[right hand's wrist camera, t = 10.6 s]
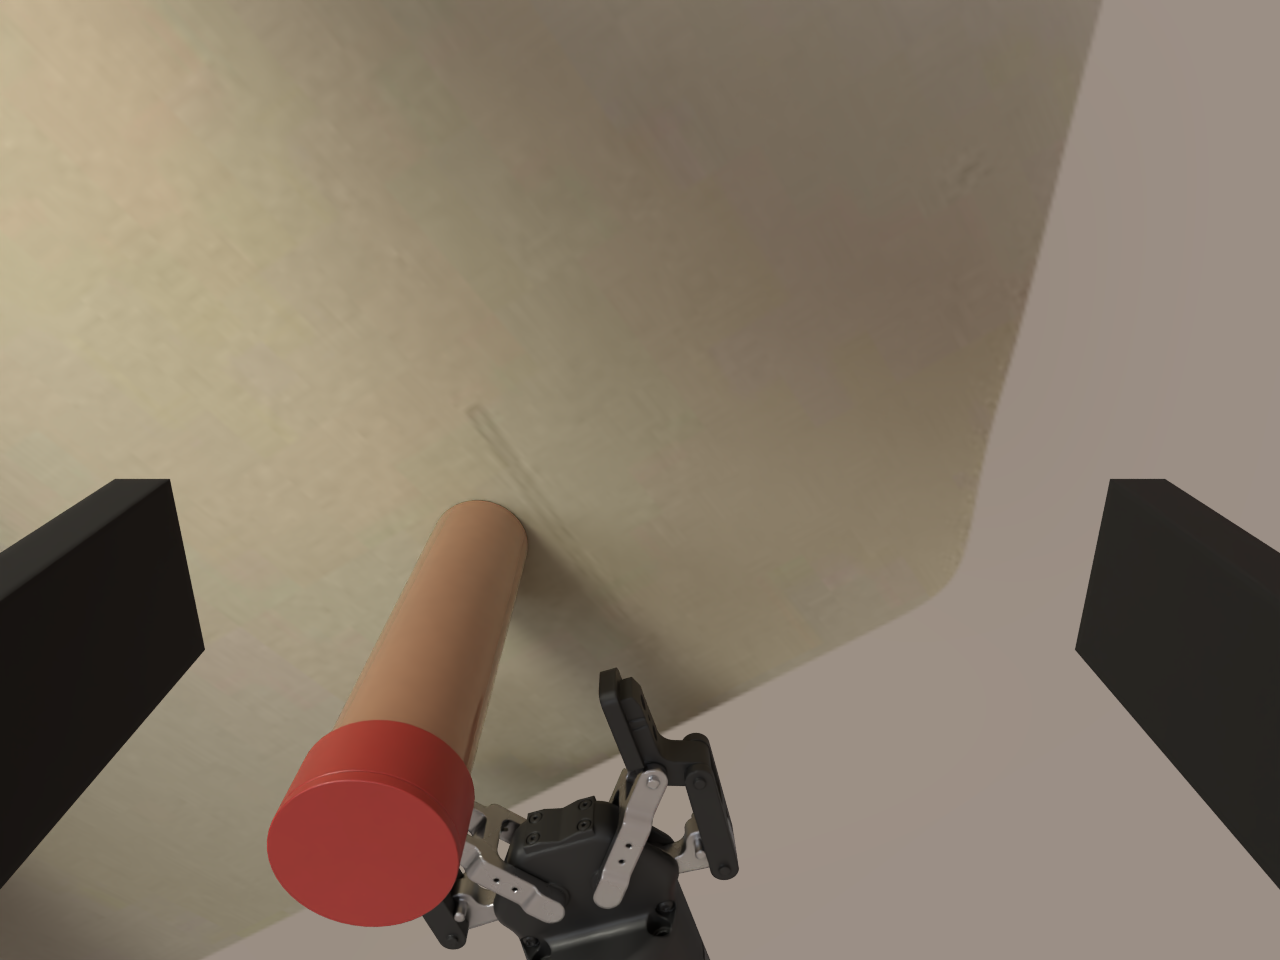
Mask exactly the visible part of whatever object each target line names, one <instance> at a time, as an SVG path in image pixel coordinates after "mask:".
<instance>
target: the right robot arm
mask: <svg viewBox="0 0 1280 960" xmlns="http://www.w3.org/2000/svg"><path fill="white" fill-rule="evenodd" d="M204 650H205V648H204V643H203V638H202V633H201V628H200V623H199V618H198V614H197V609H196V604H195V599H194V594H193V589H192V584H191V580H190V575H189V570H188V565H187V560H186V555H185V550H184V546H183V541H182V536H181V531H180V526H179V521H178V516H177V512H176V507H175V502H174V497H173V492H172V487H171V482H170V479H114V480H113V481H111V482H110V483H108V484H106V485H105V486H103V487H102V488H100V489H99V490H97V491H96V492H94V493H93V494H91V495H89V496H88V497H86V498H85V499H83V500H82V501H80V502H79V503H77V504H75V505H74V506H72V507H71V508H69V509H68V510H66V511H65V512H63V513H62V514H60V515H58V516H57V517H55V518H54V519H52V520H51V521H49V522H48V523H46V524H44V525H43V526H41V527H40V528H38V529H37V530H35V531H34V532H32V533H31V534H29V535H27V536H26V537H24V538H23V539H21V540H20V541H18V542H17V543H15V544H13V545H12V546H10V547H9V548H7V549H6V550H4V551H3V552H1V553H0V889H1V888H2V887H3V885H4V884H5V883H6V882H7V881H8V880H9V878H10V877H11V876H12V875H13V874H14V873H15V871H16V870H17V869H18V868H19V867H20V866H21V864H22V863H23V862H24V861H25V860H26V859H27V857H28V856H29V855H30V854H31V853H32V852H33V850H34V849H35V848H36V847H37V846H38V844H39V843H40V842H41V841H42V840H43V839H44V837H45V836H46V835H47V834H48V833H49V832H50V830H51V829H52V828H53V827H54V826H55V825H56V823H57V822H58V821H59V820H60V819H61V818H62V816H63V815H64V814H65V813H66V812H67V811H68V809H69V808H70V807H71V806H72V805H73V804H74V802H75V801H76V800H77V799H78V798H79V796H80V795H81V794H82V793H83V792H84V791H85V789H86V788H87V787H88V786H89V785H90V784H91V782H92V781H93V780H94V779H95V778H96V777H97V775H98V774H99V773H100V772H101V771H102V770H103V768H104V767H105V766H106V765H107V764H108V763H109V761H110V760H111V759H112V758H113V757H114V756H115V754H116V753H117V752H118V751H119V750H120V748H121V747H122V746H123V745H124V744H125V743H126V741H127V740H128V739H129V738H130V737H131V736H132V734H133V733H134V732H135V731H136V730H137V729H138V727H139V726H140V725H141V724H142V723H143V722H144V720H145V719H146V718H147V717H148V716H149V715H150V713H151V712H152V711H153V710H154V709H155V708H156V706H157V705H158V704H159V703H160V702H161V700H162V699H163V698H164V697H165V696H166V695H167V693H168V692H169V691H170V690H171V689H172V688H173V686H174V685H175V684H176V683H177V682H178V681H179V679H180V678H181V677H182V676H183V675H184V674H185V672H186V671H187V670H188V669H189V668H190V667H191V665H192V664H193V663H194V662H195V661H196V660H197V658H198V657H199V656H200V655H201V654H202V652H203V651H204ZM1075 650H1076V651H1077V652H1078V654H1079V655H1080V656H1081V657H1082V658H1083V659H1084V661H1085V662H1086V663H1087V664H1088V665H1089V667H1090V668H1091V669H1092V670H1093V671H1094V672H1095V674H1096V675H1097V676H1098V677H1099V678H1100V679H1101V681H1102V682H1103V683H1104V684H1105V685H1106V686H1107V688H1108V689H1109V690H1110V691H1111V692H1112V693H1113V695H1114V696H1115V697H1116V698H1117V699H1118V700H1119V702H1120V703H1121V704H1122V705H1123V706H1124V708H1125V709H1126V710H1127V711H1128V712H1129V713H1130V715H1131V716H1132V717H1133V718H1134V719H1135V720H1136V721H1137V723H1138V724H1139V725H1140V726H1141V727H1142V729H1143V730H1144V731H1145V732H1146V733H1147V734H1148V736H1149V737H1150V738H1151V739H1152V740H1153V741H1154V743H1155V744H1156V745H1157V746H1158V747H1159V748H1160V750H1161V751H1162V752H1163V753H1164V754H1165V755H1166V757H1167V758H1168V759H1169V760H1170V761H1171V763H1172V764H1173V765H1174V766H1175V767H1176V768H1177V770H1178V771H1179V772H1180V773H1181V774H1182V775H1183V777H1184V778H1185V779H1186V780H1187V781H1188V782H1189V784H1190V785H1191V786H1192V787H1193V788H1194V789H1195V791H1196V792H1197V793H1198V794H1199V795H1200V796H1201V798H1202V799H1203V800H1204V801H1205V802H1206V804H1207V805H1208V806H1209V807H1210V808H1211V809H1212V811H1213V812H1214V813H1215V814H1216V815H1217V816H1218V818H1219V819H1220V820H1221V821H1222V822H1223V823H1224V825H1225V826H1226V827H1227V828H1228V829H1229V830H1230V832H1231V833H1232V834H1233V835H1234V836H1235V837H1236V839H1237V840H1238V841H1239V842H1240V843H1241V844H1242V846H1243V847H1244V848H1245V849H1246V850H1247V851H1248V853H1249V854H1250V855H1251V856H1252V857H1253V859H1254V860H1255V861H1256V862H1257V863H1258V864H1259V866H1260V867H1261V868H1262V869H1263V870H1264V871H1265V873H1266V874H1267V875H1268V876H1269V877H1270V878H1271V880H1272V881H1273V882H1274V883H1275V884H1276V885H1277V887H1278V888H1279V889H1280V553H1279V552H1277V551H1276V550H1274V549H1273V548H1271V547H1270V546H1268V545H1267V544H1265V543H1263V542H1262V541H1260V540H1259V539H1257V538H1256V537H1254V536H1252V535H1251V534H1249V533H1248V532H1246V531H1245V530H1243V529H1242V528H1240V527H1239V526H1237V525H1236V524H1234V523H1232V522H1231V521H1229V520H1228V519H1226V518H1225V517H1223V516H1222V515H1220V514H1218V513H1217V512H1215V511H1214V510H1212V509H1211V508H1209V507H1208V506H1206V505H1205V504H1203V503H1201V502H1200V501H1198V500H1197V499H1195V498H1194V497H1192V496H1191V495H1189V494H1187V493H1186V492H1184V491H1183V490H1181V489H1180V488H1178V487H1177V486H1175V485H1174V484H1172V483H1170V482H1169V481H1167V480H1166V479H1110V482H1109V487H1108V492H1107V497H1106V502H1105V507H1104V512H1103V516H1102V521H1101V526H1100V531H1099V536H1098V541H1097V546H1096V551H1095V555H1094V560H1093V565H1092V570H1091V575H1090V580H1089V584H1088V589H1087V594H1086V599H1085V604H1084V609H1083V614H1082V618H1081V623H1080V628H1079V633H1078V638H1077V643H1076V648H1075Z"/></svg>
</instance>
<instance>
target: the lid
mask: <svg viewBox="0 0 1280 960" xmlns="http://www.w3.org/2000/svg"><path fill="white" fill-rule="evenodd" d="M474 800H475V796H474V786H473V782H472V778H471V776H470V773H469V771H468V769H467V767H466V765H465V764H464V762H463V760H462V759H461V758H460V756H459V755H458V754H457V753H456V752H455V751H454V750H453V749H452V748H451V747H450V746H449V745H448V744H447V743H445V742H444V741H443V740H442V739H440V738H439V737H437V736H435V735H434V734H432V733H430V732H428V731H426V730H424V729H422V728H419V727H416V726H413V725H411V724H407V723H403V722H398V721H390V720H367V721H360V722H355V723H351V724H348V725H345V726H342V727H340V728H338V729H336V730H334V731H332V732H330V733H329V734H327V735H326V736H324V737H323V738H321V739H320V740H319V741H318V742H317V743H316V744H315V745H314V746H313V747H312V749H311V750H310V751H309V753H308V754H307V756H306V758H305V759H304V761H303V763H302V765H301V767H300V769H299V771H298V773H297V775H296V777H295V778H294V780H293V782H292V784H291V786H290V788H289V790H288V792H287V794H286V796H285V797H284V799H283V801H282V803H281V805H280V807H279V809H278V811H277V813H276V815H275V817H274V818H273V820H272V823H271V825H270V828H269V832H268V837H267V852H268V858H269V862H270V865H271V868H272V870H273V872H274V874H275V876H276V878H277V879H278V881H279V882H280V884H281V885H282V886H283V888H284V889H285V890H286V891H287V892H288V893H289V894H290V895H291V896H292V897H293V898H294V899H295V900H297V901H298V902H299V903H300V904H302V905H303V906H305V907H306V908H308V909H309V910H311V911H313V912H315V913H317V914H319V915H321V916H323V917H326V918H328V919H331V920H334V921H337V922H341V923H345V924H350V925H355V926H364V927H381V926H391V925H396V924H401V923H405V922H408V921H411V920H414V919H416V918H418V917H421V916H423V915H424V914H426V913H428V912H429V911H431V910H432V909H434V908H435V907H436V906H437V905H439V904H440V903H441V902H442V901H443V899H444V898H445V897H446V896H447V895H448V893H449V892H450V890H451V889H452V887H453V885H454V883H455V881H456V878H457V874H458V871H459V866H460V862H461V858H462V854H463V850H464V845H465V841H466V837H467V833H468V829H469V825H470V820H471V816H472V812H473V808H474Z"/></svg>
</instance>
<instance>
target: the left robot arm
mask: <svg viewBox="0 0 1280 960" xmlns="http://www.w3.org/2000/svg"><path fill="white" fill-rule="evenodd" d="M599 698H600V703H601V706H602V709H603V712H604V714H605V717H606V719H607V721H608V724H609V726H610V729H611V731H612V734H613V736H614V739H615V741H616V744H617V746H618V749H619V751H620V753H621V756H622V758H623V761H624V763H625V766H626V769H625V768H624V769H623V770H622V772H621V775H620V777H619V779H618V782H617V784H616V786H615V789H614V791H613V794H612V796H611V798H610V801H609V802H605V801H596V799H595V796H591V797H588V798H584V799H580V800H577V801H575V802H573V803H572V804H570V805H568V806H566V807H564V808H557V809H543V810H539V811H536V812H532V813H528V817H527V819H525V818H523V817H521V816H519V815H517V814H515V813H513V812H511V811H509V810H507V809H506V808H504V807H502V806H500V805H498V804H491V805H490V806H488V807H486V806H483V805H481V804H479V803H477V802H475V801H474V808H473V812H472V816H471V820H470V825H469V829H468V831H469V832H470V833H471V834H472V836H473V837H472V836H470V835H468V834H467V837H466V841H465V845H464V850H463V854H462V858H461V862H460V865H461V866H462V867H463V868H464V870H465V873H464V874H462V872H461V870H460V869H459V871H458V874H457V878H456V881H455V883H454V885H453V887H452V889H451V890H450V892H449V893H448V895H447V896H446V897H445V898H444V899H443V901H442V902H441V903H440V904H439V905H437V906H436V907H435V908H434V909H432V910H431V911H429V912H428V913H426V914H424V915H423V917H424V919H425V921H426V922H427V924H428V925H429V927H430V928H431V930H432V931H433V933H434V935H435V936H436V938H437V939H438V941H439V942H440V944H441V945H442V946H443V947H445V948H448V949H459V948H461V947H463V946H464V945H465V943H466V938H467V934H468V930H469V929H471V928H474V927H478V926H481V925H484V924H487V923H491V922H494V921H497V920H499V922H500V923H501V924H503V925H504V926H506V927H507V928H509V929H510V930H512V931H513V932H514V933H515V934H516V935H517V936H518V937H519V939H520V941H521V944H522V947H523V950H524V953H525V956H526V959H527V960H710V959H709V956H708V954H707V951H706V949H705V947H704V944H703V942H702V939H701V937H700V934H699V932H698V929H697V927H696V924H695V921H694V919H693V917H692V914H691V912H690V909H689V907H688V904H687V902H686V899H685V897H684V894H683V892H682V889H681V887H680V884H679V882H678V876H679V873H684V872H689V871H693V870H699V869H703V868H708V867H710V871H711V873H712V875H713V876H714V877H715V878H717V879H720V880H728V879H731V878H733V877H734V876H736V874H737V873H738V870H739V867H738V860H737V853H736V847H735V840H734V834H733V828H732V823H731V820H730V816H729V812H728V808H727V805H726V801H725V798H724V794H723V790H722V787H721V783H720V780H719V776H718V772H717V769H716V765H715V762H714V758H713V754H712V751H711V747H710V744H709V740H708V738H707V737H706V736H704V735H703V734H700V733H692V734H689V735H687V736H686V737H685V738H684V739H683V740H669V739H666V738H664V737H663V736H661V735H660V734H659V732H658V731H657V728H656V726H655V723H654V720H653V718H652V715H651V713H650V710H649V707H648V705H647V702H646V699H645V697H644V694H643V692H642V689H641V686H640V685H639V684H638V683H637V682H636V681H635V680H634V679H633V678H632V677H630V678H626V679H623V680H622V678H621V675H620V673H619V670H618V669H617V668H613V669H610V670H606V671H603V672H600V679H599ZM667 786H686V790H687V793H688V796H689V800H690V803H691V807H692V810H693V813H692V818H691V819H689V820H688V821H687V822H686V824H685V834H684V836H683V838H682V839H681V840H679V841H677V842H674V841H673V839H672V838H671V837H670V836H669V835H667V834H666V833H664V832H662V831H660V830H659V829H657V828H655V827H653V826H652V821H653V817H654V814H655V811H656V809H657V807H658V805H659V802H660V800H661V798H662V796H663V794H664V792H665V789H666V787H667ZM499 839H501V840H503V841H505V842H507V843H509V844H510V846H509V849H508V852H507V855H506V858H505V861H503V860H502V859H501V858H500V857H499V855H498V852H497V848H498V842H499ZM478 884H479V885H481V886H483V887H485V888H487V889H489V890H487V889H484V888H481V887H480V886H479V885H478Z"/></svg>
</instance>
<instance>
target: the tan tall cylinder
mask: <svg viewBox="0 0 1280 960" xmlns="http://www.w3.org/2000/svg"><path fill="white" fill-rule="evenodd" d="M527 552H528V541H527V536H526V533H525V530H524V528H523V526H522V524H521V523H520V521H519V520H518V519H517V518H516V517H515V516H514V515H513V514H512V513H511V512H510V511H508V510H507V509H505V508H504V507H502V506H500V505H497V504H495V503H492V502H488V501H477V500H475V501H467V502H463V503H460V504H457V505H455V506H453V507H451V508H450V509H449V510H447V511H446V512H445V513H444V514H443V515H442V516H441V517H440V519H439V520H438V522H437V523H436V525H435V527H434V529H433V531H432V533H431V535H430V537H429V539H428V541H427V543H426V545H425V547H424V549H423V551H422V553H421V555H420V557H419V559H418V561H417V563H416V565H415V567H414V569H413V571H412V573H411V575H410V577H409V579H408V581H407V583H406V585H405V587H404V589H403V591H402V593H401V595H400V597H399V599H398V600H397V602H396V604H395V606H394V608H393V610H392V612H391V614H390V616H389V618H388V620H387V622H386V624H385V626H384V628H383V630H382V632H381V634H380V636H379V638H378V640H377V642H376V644H375V646H374V648H373V650H372V652H371V654H370V656H369V658H368V660H367V662H366V664H365V666H364V668H363V670H362V672H361V674H360V676H359V678H358V680H357V682H356V684H355V686H354V688H353V690H352V692H351V693H350V695H349V697H348V699H347V701H346V703H345V705H344V707H343V709H342V711H341V713H340V715H339V717H338V719H337V721H336V723H335V725H334V727H333V729H332V731H334V730H336V729H338V728H340V727H342V726H345V725H348V724H351V723H355V722H360V721H367V720H390V721H398V722H403V723H407V724H411V725H413V726H416V727H419V728H422V729H424V730H426V731H428V732H430V733H432V734H434V735H435V736H437V737H439V738H440V739H442V740H443V741H444V742H445V743H447V744H448V745H449V746H450V747H451V748H452V749H453V750H454V751H455V752H456V753H457V754H458V755H459V756H460V758H461V759H462V760H463V762H464V764H465V765H466V767H467V769H468V771H469V773H470V776H471V772H472V768H473V764H474V760H475V756H476V752H477V748H478V744H479V740H480V736H481V733H482V729H483V725H484V721H485V717H486V713H487V709H488V705H489V701H490V697H491V693H492V690H493V686H494V682H495V678H496V674H497V670H498V666H499V662H500V658H501V654H502V650H503V647H504V643H505V639H506V635H507V631H508V627H509V623H510V619H511V615H512V611H513V607H514V603H515V600H516V596H517V592H518V588H519V584H520V580H521V576H522V572H523V568H524V564H525V560H526V557H527ZM332 731H331V732H332Z"/></svg>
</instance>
